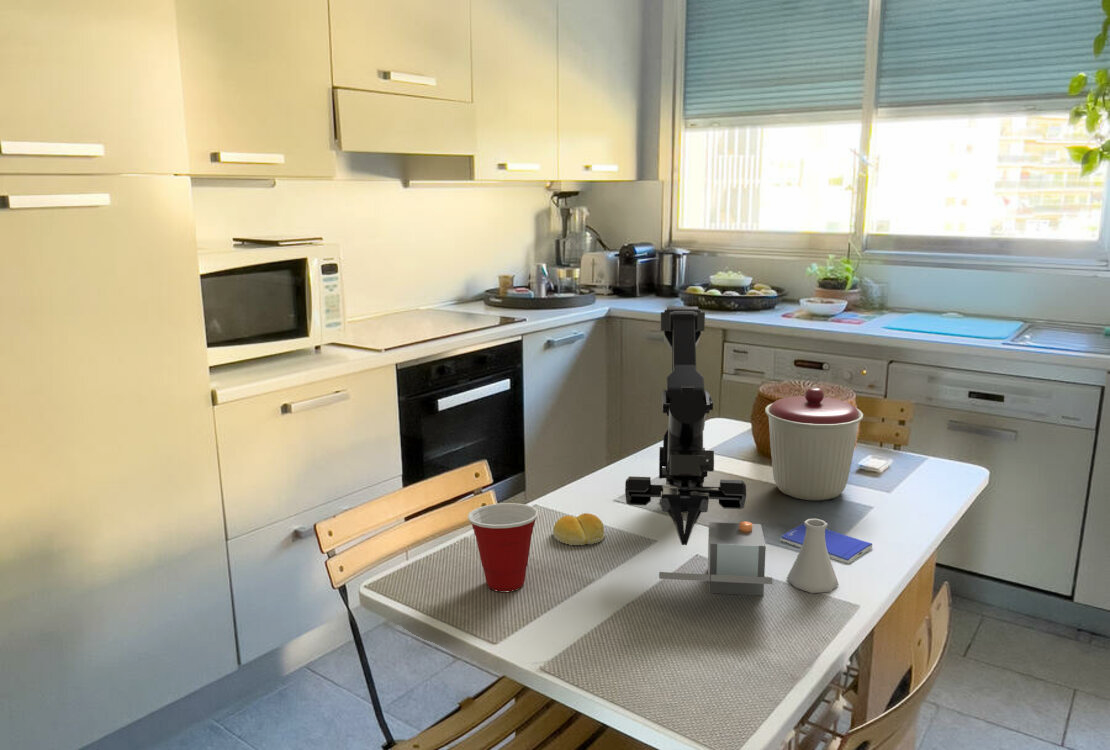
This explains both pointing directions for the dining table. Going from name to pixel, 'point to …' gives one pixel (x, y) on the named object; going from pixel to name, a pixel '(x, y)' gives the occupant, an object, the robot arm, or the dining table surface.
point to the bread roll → (579, 529)
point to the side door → (715, 578)
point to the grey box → (736, 556)
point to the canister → (812, 444)
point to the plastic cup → (504, 542)
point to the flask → (813, 561)
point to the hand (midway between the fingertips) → (684, 544)
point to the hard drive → (831, 543)
